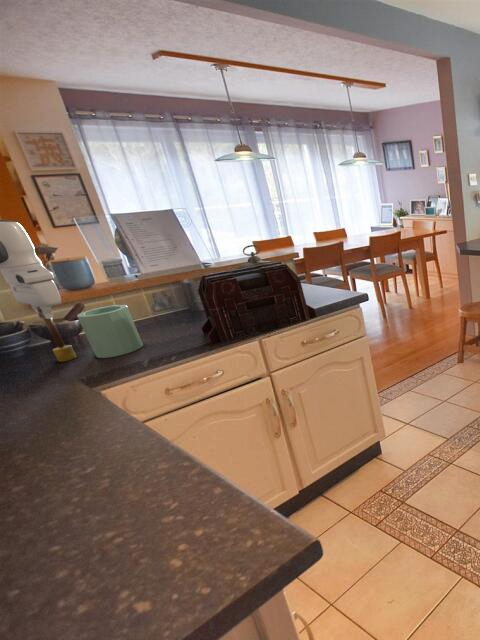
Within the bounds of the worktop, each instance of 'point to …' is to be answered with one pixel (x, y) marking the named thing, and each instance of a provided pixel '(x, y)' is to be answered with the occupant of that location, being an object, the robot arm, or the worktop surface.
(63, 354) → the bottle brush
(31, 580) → the worktop surface
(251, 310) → the crate
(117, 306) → the jar
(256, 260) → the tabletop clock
